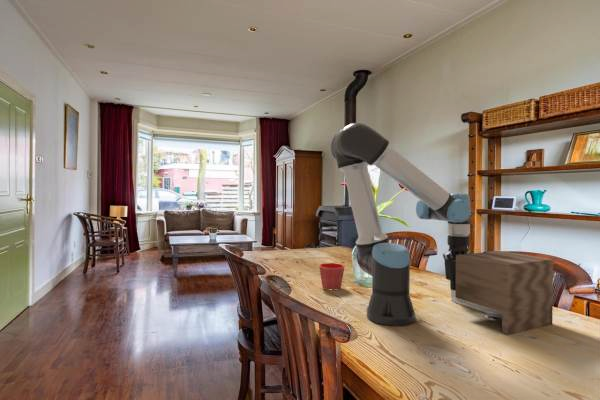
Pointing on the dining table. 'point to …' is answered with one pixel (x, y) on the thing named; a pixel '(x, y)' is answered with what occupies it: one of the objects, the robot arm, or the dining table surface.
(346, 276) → the dining table surface
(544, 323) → the walnut cabinet
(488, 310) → the scraper
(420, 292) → the dining table surface
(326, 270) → the flower pot
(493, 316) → the steel disc
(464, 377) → the dining table surface
